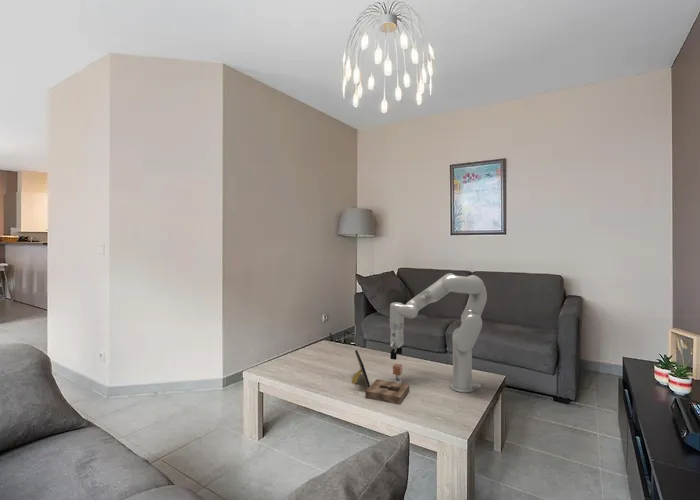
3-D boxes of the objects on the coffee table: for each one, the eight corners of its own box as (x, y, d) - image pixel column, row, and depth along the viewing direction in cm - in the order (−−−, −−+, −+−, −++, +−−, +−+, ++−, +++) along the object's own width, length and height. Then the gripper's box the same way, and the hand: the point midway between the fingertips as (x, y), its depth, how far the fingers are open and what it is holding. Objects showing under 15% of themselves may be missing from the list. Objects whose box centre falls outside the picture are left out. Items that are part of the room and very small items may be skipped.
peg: (402, 382, 193) (402, 364, 193) (400, 385, 189) (400, 367, 189) (395, 381, 195) (394, 363, 195) (392, 384, 191) (392, 366, 191)
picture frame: (371, 391, 183) (367, 363, 182) (354, 394, 182) (350, 366, 181) (364, 374, 206) (361, 349, 205) (349, 376, 205) (346, 351, 204)
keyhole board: (409, 391, 182) (409, 384, 182) (400, 404, 168) (399, 397, 168) (376, 385, 190) (376, 379, 190) (365, 397, 176) (365, 390, 176)
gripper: (398, 330, 182) (398, 362, 183) (407, 322, 197) (407, 352, 198) (384, 328, 185) (384, 360, 186) (395, 321, 201) (394, 350, 201)
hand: (396, 356), depth 192 cm, fingers open, 9 cm apart
